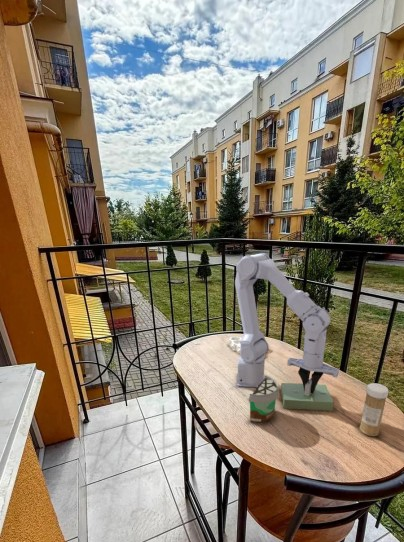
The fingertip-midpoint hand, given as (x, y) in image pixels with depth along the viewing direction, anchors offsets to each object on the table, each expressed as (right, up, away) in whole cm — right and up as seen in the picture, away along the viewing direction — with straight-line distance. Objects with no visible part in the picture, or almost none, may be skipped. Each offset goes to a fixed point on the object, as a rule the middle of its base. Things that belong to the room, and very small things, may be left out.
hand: (309, 390), depth 87 cm
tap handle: (0, 0, 0) cm, 0 cm away
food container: (-15, -7, -5) cm, 17 cm away
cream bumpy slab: (-13, +11, +41) cm, 44 cm away
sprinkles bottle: (+11, -8, -13) cm, 19 cm away
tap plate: (-1, -3, +1) cm, 4 cm away
